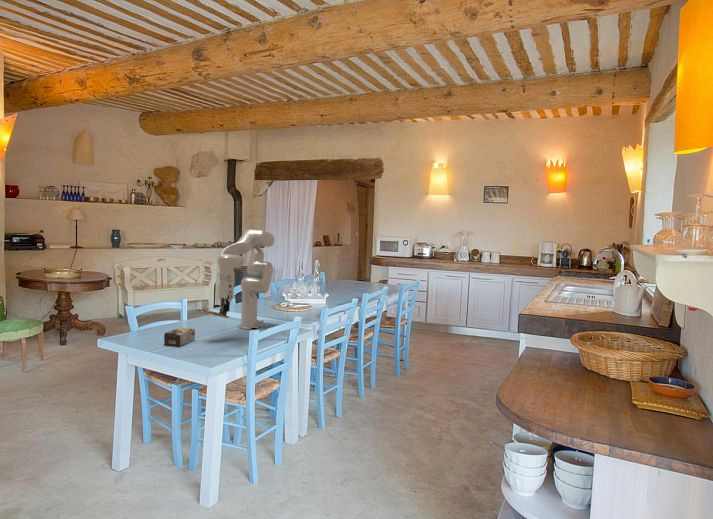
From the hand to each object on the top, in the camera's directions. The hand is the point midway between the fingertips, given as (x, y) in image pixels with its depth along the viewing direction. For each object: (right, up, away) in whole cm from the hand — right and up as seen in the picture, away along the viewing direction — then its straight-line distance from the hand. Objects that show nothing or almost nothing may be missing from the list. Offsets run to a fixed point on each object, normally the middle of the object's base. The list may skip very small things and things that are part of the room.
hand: (224, 310), depth 277 cm
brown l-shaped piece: (-4, -2, -3) cm, 6 cm away
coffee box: (-20, -12, -3) cm, 23 cm away
